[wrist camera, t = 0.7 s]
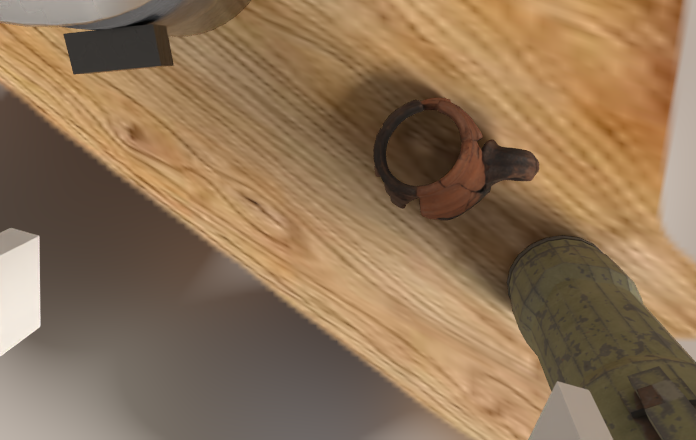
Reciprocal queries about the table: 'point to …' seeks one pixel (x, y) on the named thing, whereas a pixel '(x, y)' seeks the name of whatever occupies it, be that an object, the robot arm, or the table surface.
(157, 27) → the pot
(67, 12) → the lid
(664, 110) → the table surface
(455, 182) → the pottery mug
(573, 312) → the thermos
